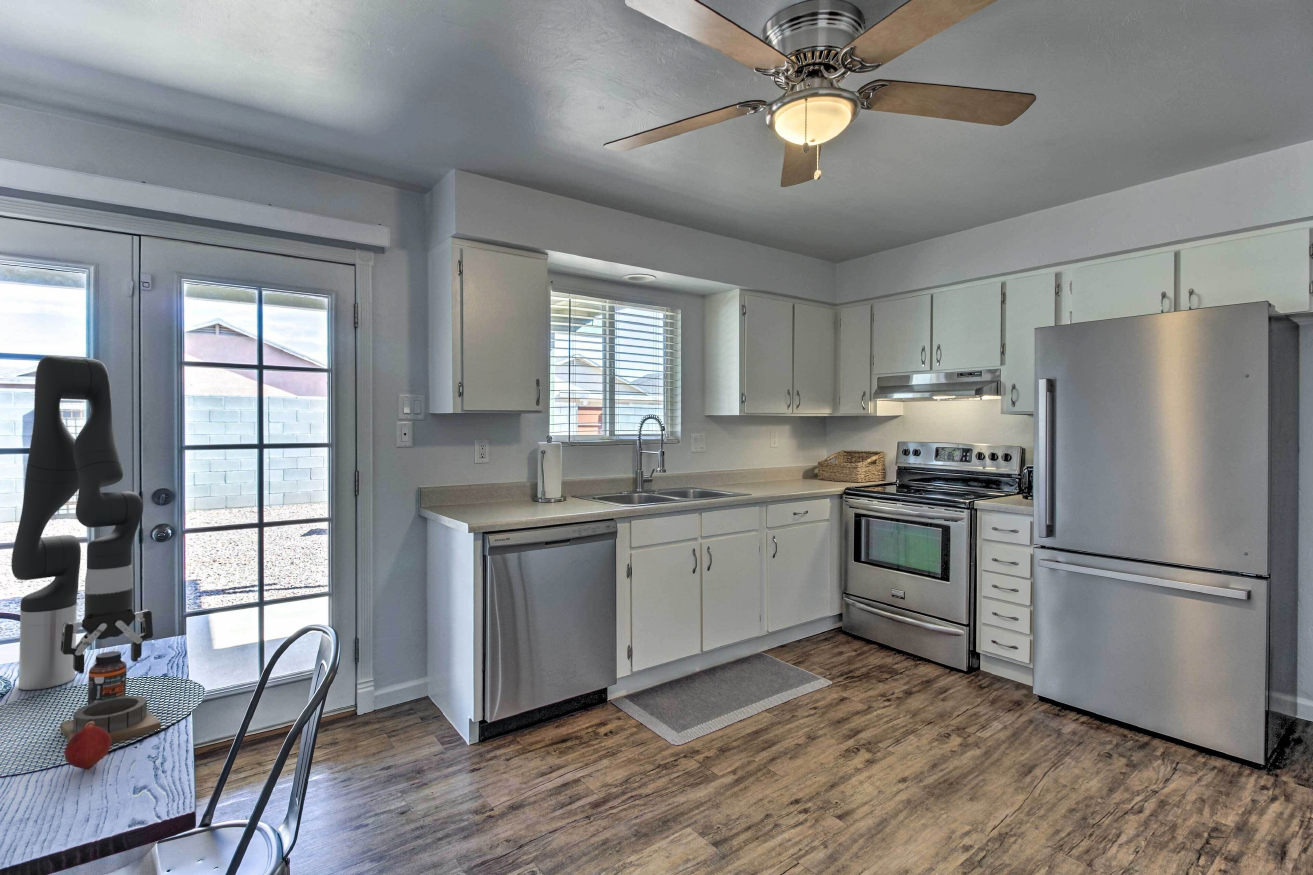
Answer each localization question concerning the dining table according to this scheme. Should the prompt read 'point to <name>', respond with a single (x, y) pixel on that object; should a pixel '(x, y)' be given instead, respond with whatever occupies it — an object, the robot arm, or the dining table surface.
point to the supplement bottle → (107, 677)
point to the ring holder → (114, 718)
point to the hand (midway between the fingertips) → (108, 666)
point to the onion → (88, 746)
